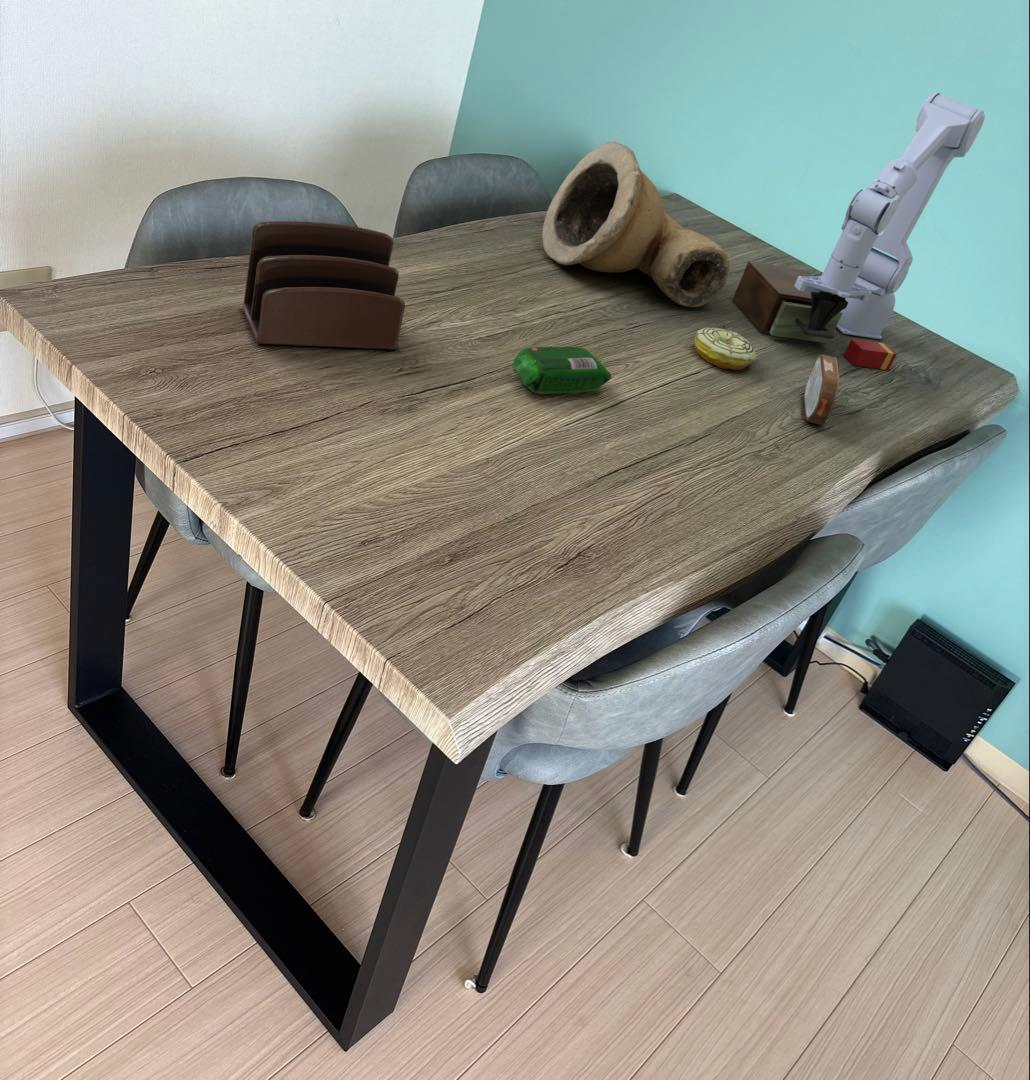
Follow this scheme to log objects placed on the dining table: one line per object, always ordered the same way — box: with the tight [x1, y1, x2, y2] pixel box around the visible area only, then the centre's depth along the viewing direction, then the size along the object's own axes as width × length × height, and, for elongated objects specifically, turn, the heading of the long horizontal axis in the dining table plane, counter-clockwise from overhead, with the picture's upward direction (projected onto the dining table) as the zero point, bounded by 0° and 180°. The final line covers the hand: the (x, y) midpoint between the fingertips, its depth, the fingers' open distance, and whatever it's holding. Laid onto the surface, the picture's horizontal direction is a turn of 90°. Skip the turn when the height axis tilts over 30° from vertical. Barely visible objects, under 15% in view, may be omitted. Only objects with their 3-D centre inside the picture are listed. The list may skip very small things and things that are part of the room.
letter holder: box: [242, 220, 406, 351], centre depth 140 cm, size 10×20×14 cm, turn 113°
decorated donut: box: [694, 327, 757, 371], centre depth 173 cm, size 10×11×4 cm
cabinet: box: [731, 260, 814, 336], centre depth 193 cm, size 14×14×8 cm
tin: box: [803, 354, 840, 427], centre depth 164 cm, size 15×3×8 cm, turn 168°
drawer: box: [769, 298, 843, 344], centre depth 189 cm, size 17×12×6 cm
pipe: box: [541, 141, 731, 308], centre depth 190 cm, size 23×29×30 cm
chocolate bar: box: [843, 338, 898, 371], centre depth 189 cm, size 8×4×3 cm, turn 105°
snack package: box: [511, 346, 612, 395], centre depth 148 cm, size 7×16×5 cm, turn 118°
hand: (813, 330), depth 185 cm, fingers closed
